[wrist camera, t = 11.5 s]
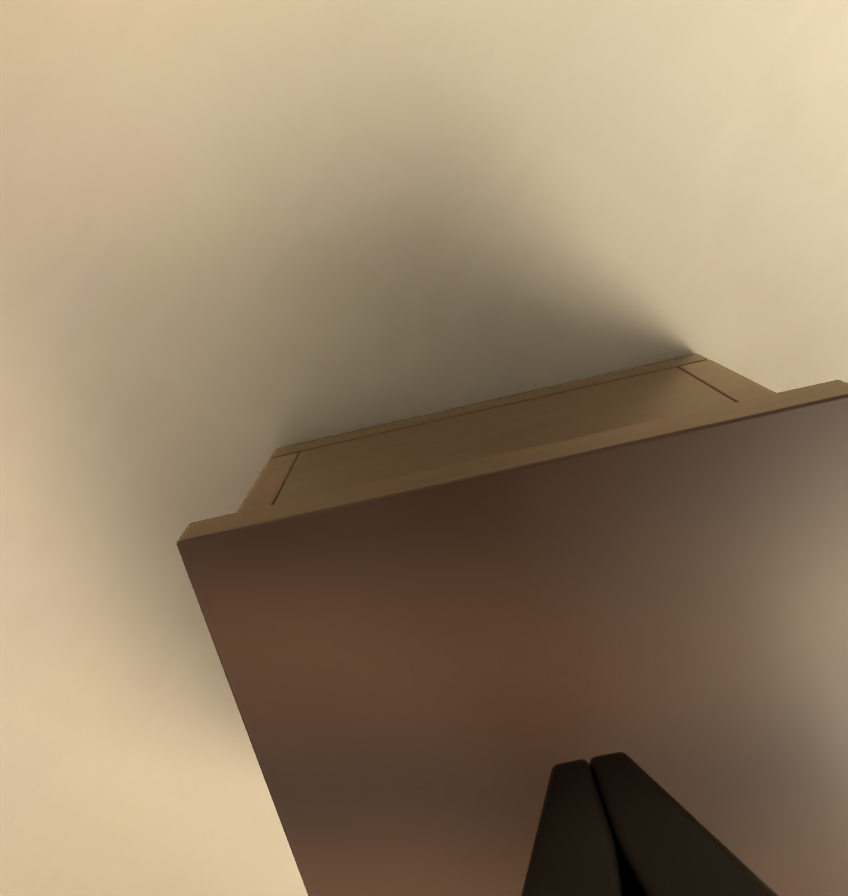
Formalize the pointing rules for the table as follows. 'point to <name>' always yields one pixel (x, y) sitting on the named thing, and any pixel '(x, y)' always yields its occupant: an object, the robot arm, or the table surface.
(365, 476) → the tea box
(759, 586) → the lid
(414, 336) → the table surface
